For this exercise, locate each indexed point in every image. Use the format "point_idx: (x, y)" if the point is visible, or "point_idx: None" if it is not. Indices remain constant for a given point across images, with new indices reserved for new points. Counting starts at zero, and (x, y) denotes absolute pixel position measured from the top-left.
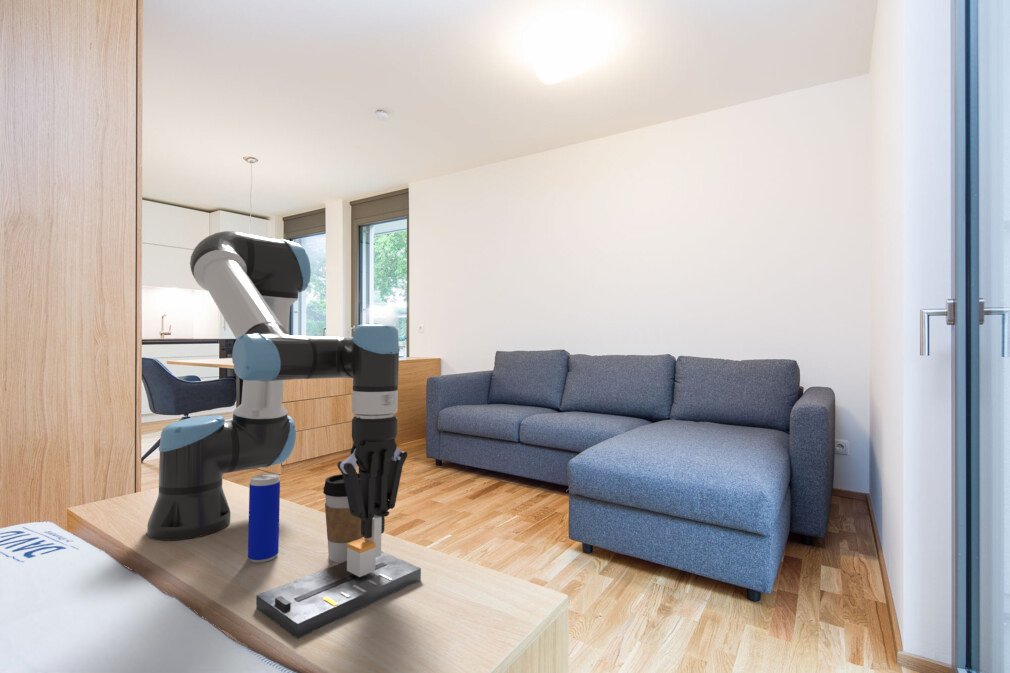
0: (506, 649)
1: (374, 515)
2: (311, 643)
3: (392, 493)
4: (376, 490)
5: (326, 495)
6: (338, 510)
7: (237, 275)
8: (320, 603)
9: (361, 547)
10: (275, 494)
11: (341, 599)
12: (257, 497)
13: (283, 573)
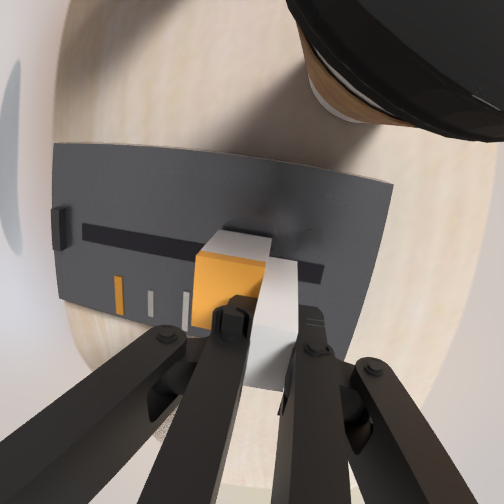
0: (233, 483)
1: (279, 360)
2: (82, 313)
3: (354, 469)
4: (284, 461)
5: None
6: (309, 55)
7: None
8: (105, 284)
9: (201, 321)
10: None
11: (137, 309)
12: None
13: (187, 31)
